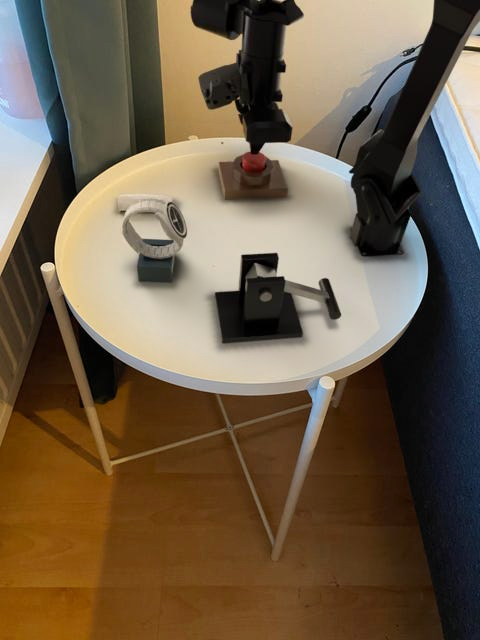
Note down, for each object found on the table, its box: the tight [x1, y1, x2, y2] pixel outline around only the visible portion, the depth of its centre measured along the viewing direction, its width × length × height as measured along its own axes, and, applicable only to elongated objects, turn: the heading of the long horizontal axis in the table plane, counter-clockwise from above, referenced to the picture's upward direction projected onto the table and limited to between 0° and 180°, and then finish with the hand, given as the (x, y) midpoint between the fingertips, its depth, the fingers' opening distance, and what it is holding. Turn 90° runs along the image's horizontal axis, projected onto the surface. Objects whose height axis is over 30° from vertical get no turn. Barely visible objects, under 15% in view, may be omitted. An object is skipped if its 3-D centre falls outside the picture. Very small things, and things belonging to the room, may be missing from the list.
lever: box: [245, 263, 342, 321], centre depth 67 cm, size 12×6×2 cm, turn 98°
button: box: [242, 150, 266, 173], centre depth 86 cm, size 4×4×2 cm
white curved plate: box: [117, 193, 173, 213], centre depth 83 cm, size 4×8×3 cm, turn 90°
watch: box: [121, 198, 188, 284], centre depth 71 cm, size 6×8×11 cm
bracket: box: [214, 252, 304, 344], centre depth 67 cm, size 10×8×9 cm
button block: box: [218, 154, 289, 200], centre depth 88 cm, size 10×8×4 cm
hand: (254, 153), depth 85 cm, fingers closed
